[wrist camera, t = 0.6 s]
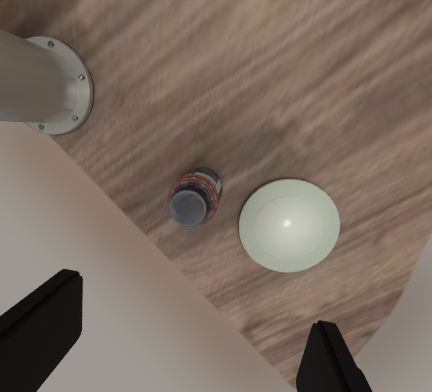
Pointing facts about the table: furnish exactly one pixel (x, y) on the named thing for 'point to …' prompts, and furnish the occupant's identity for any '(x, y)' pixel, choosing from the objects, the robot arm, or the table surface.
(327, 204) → the dish
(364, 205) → the table surface
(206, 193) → the supplement bottle
